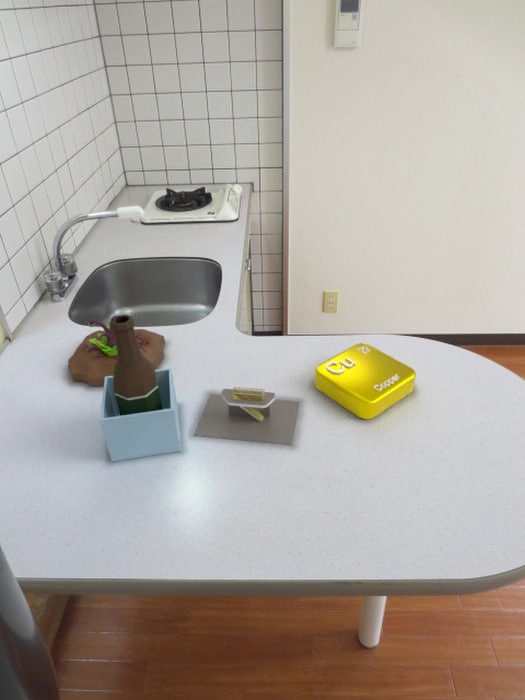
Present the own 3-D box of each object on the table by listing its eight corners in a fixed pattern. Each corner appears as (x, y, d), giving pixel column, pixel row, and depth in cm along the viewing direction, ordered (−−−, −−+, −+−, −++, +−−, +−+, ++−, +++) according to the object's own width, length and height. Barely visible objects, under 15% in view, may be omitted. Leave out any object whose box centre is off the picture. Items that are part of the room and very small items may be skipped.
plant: (146, 391, 107) (137, 345, 100) (57, 384, 109) (42, 339, 103) (175, 337, 123) (168, 295, 116) (96, 332, 126) (86, 291, 119)
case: (180, 451, 92) (173, 410, 87) (111, 461, 91) (99, 420, 85) (177, 407, 102) (171, 367, 97) (115, 416, 101) (104, 376, 95)
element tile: (366, 423, 97) (368, 403, 94) (310, 385, 106) (310, 366, 104) (417, 389, 104) (420, 369, 101) (360, 356, 114) (362, 338, 111)
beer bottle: (159, 448, 92) (136, 333, 79) (118, 444, 94) (87, 330, 80) (172, 418, 99) (153, 307, 85) (133, 415, 100) (108, 305, 86)
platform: (291, 445, 93) (291, 417, 89) (193, 435, 96) (189, 408, 92) (299, 401, 102) (299, 374, 99) (210, 393, 105) (207, 367, 101)
